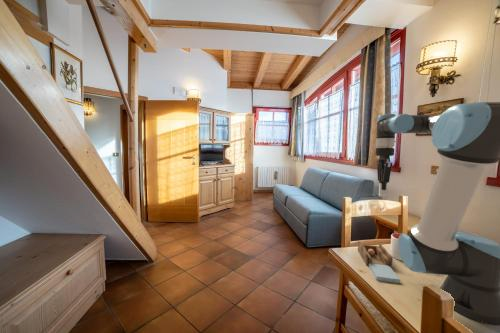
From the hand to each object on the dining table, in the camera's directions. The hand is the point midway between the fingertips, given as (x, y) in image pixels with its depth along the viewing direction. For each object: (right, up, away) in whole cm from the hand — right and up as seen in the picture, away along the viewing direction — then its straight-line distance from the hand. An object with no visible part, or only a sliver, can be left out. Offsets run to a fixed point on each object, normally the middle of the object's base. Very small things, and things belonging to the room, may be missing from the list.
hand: (382, 196), depth 102 cm
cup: (+8, -29, -3) cm, 30 cm away
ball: (-6, -28, -1) cm, 29 cm away
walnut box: (-7, -29, -4) cm, 30 cm away
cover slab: (-10, -30, -16) cm, 36 cm away
